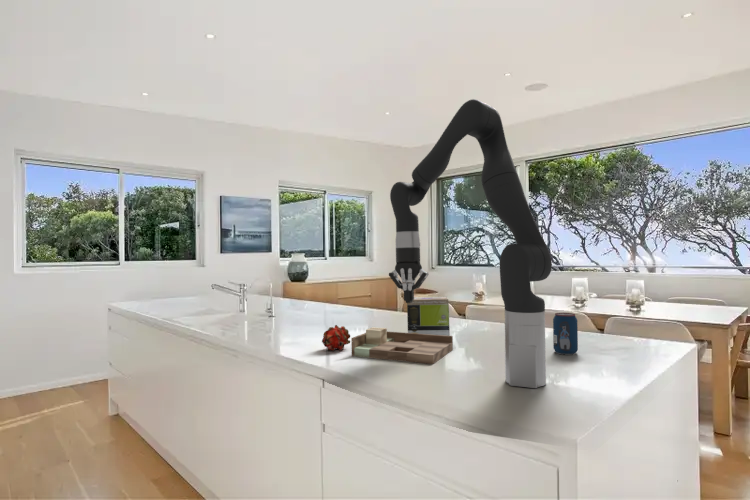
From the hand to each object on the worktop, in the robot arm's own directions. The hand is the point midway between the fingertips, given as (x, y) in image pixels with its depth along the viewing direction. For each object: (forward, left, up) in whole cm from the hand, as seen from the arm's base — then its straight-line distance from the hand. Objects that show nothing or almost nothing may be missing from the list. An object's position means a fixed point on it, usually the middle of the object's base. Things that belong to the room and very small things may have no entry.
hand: (409, 302), depth 143 cm
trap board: (0, +2, -16) cm, 16 cm away
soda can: (+19, -44, -16) cm, 50 cm away
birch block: (0, +11, -13) cm, 18 cm away
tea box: (+27, +3, -16) cm, 32 cm away
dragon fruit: (-4, +24, -16) cm, 29 cm away
